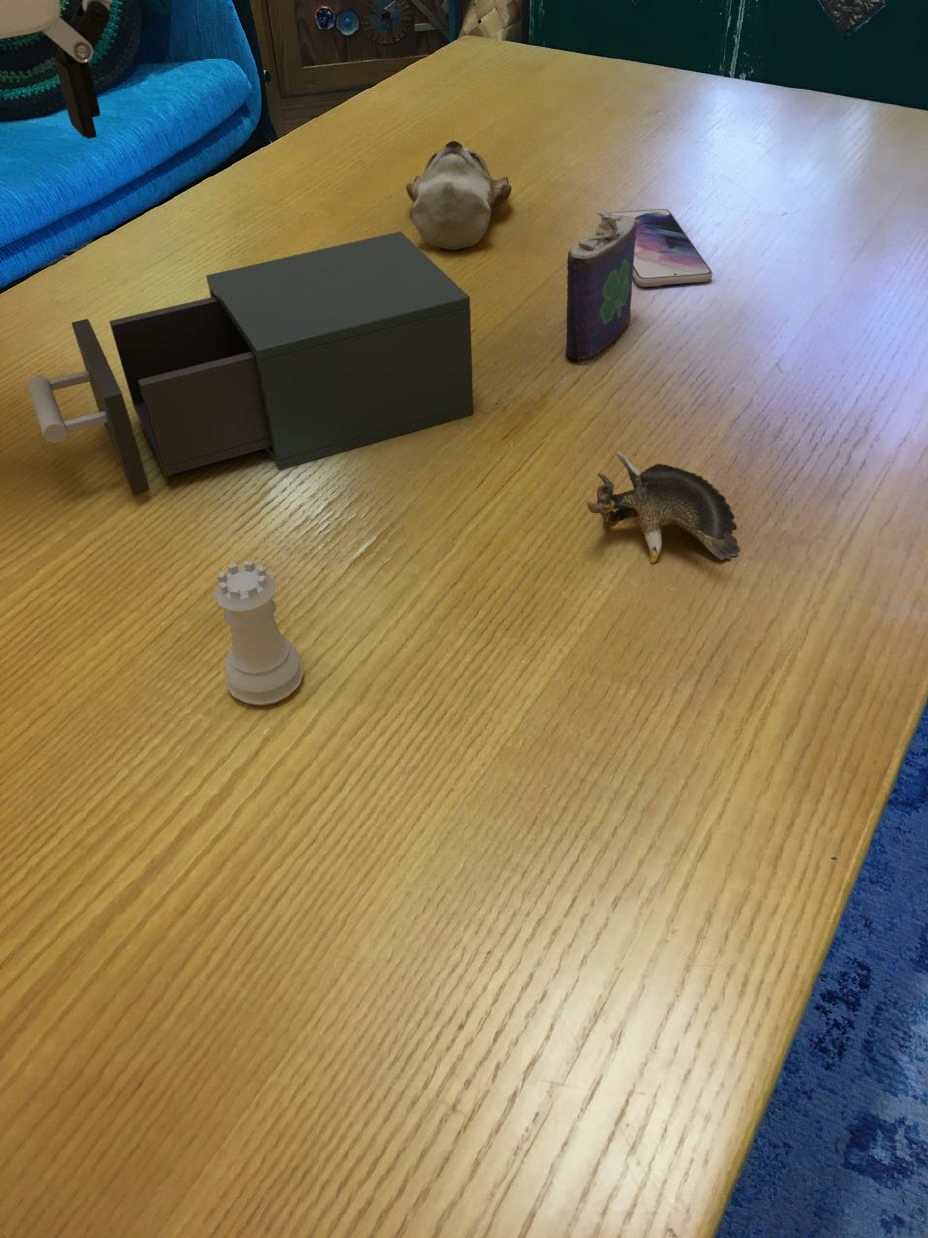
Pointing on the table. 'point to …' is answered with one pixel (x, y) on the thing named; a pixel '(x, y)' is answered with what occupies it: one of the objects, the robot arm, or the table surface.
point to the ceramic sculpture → (455, 197)
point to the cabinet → (352, 344)
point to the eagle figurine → (670, 507)
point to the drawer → (167, 389)
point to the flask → (600, 288)
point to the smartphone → (664, 251)
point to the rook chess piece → (256, 638)
